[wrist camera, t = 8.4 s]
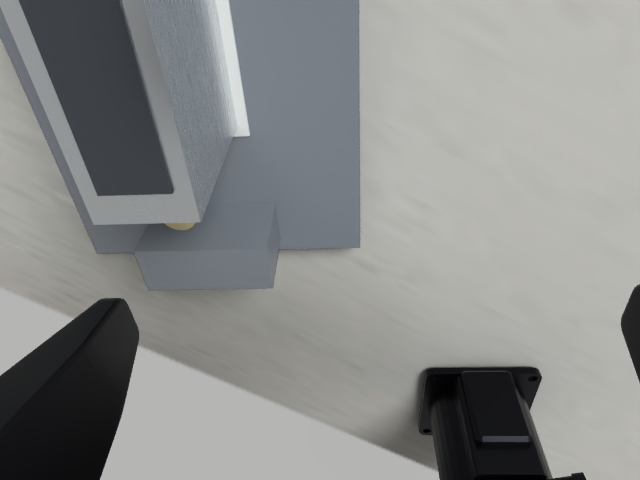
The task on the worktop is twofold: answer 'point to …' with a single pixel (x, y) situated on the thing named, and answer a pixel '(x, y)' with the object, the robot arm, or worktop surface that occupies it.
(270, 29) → the drive dock
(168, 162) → the drive
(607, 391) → the worktop surface
